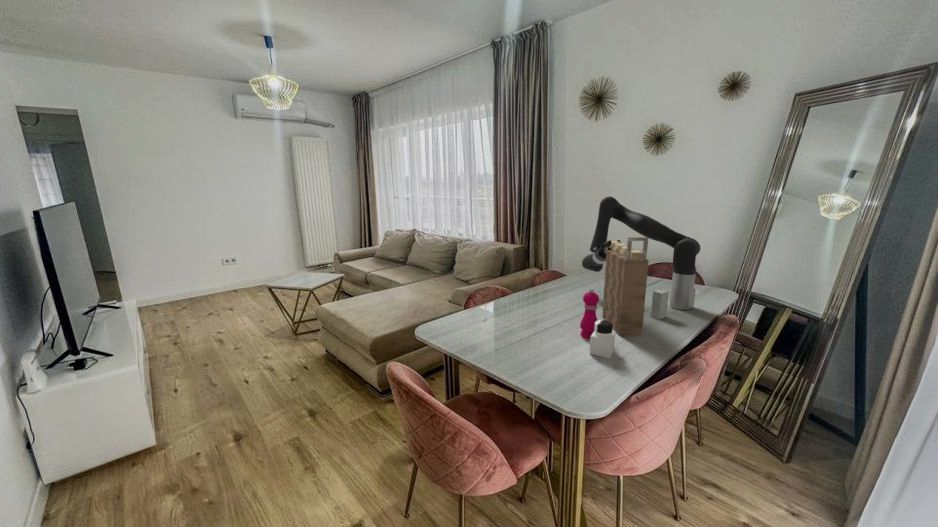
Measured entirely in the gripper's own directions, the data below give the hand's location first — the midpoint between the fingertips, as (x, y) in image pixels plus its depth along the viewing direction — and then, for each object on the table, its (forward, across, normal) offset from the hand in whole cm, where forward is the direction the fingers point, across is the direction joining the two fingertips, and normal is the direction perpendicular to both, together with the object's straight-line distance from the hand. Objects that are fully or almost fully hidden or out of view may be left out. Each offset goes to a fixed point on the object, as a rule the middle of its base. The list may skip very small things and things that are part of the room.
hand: (614, 242), depth 159 cm
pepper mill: (+3, -17, +41) cm, 45 cm away
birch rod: (+7, 0, +7) cm, 10 cm away
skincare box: (-14, +20, +31) cm, 40 cm away
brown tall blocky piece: (-6, 0, +36) cm, 36 cm away
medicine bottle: (+15, -16, +48) cm, 53 cm away
